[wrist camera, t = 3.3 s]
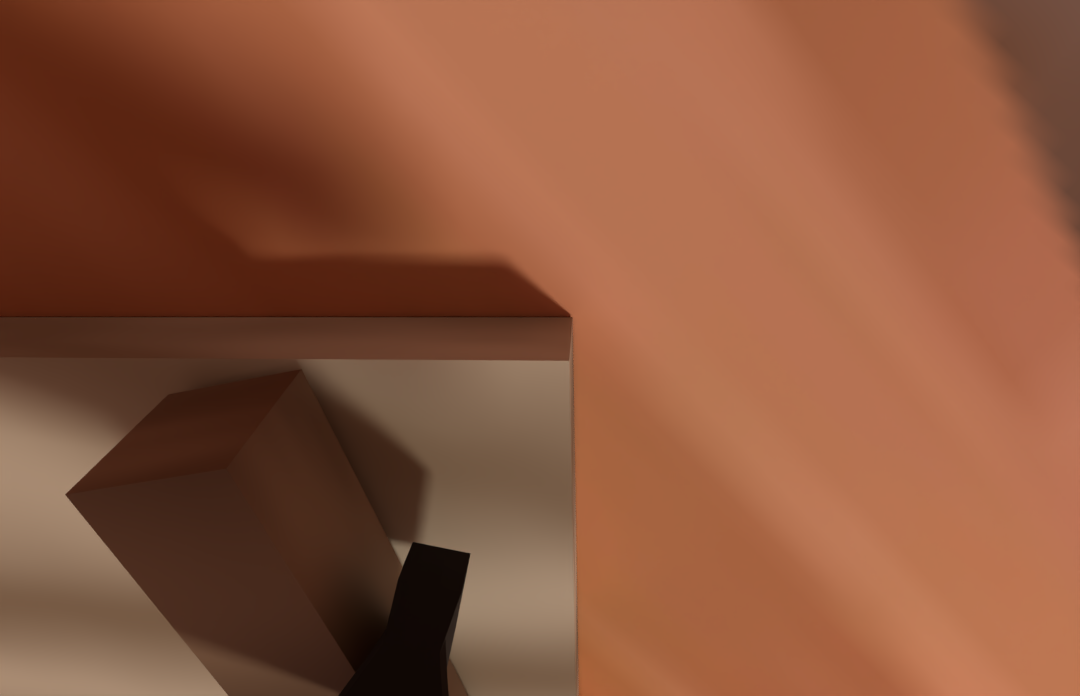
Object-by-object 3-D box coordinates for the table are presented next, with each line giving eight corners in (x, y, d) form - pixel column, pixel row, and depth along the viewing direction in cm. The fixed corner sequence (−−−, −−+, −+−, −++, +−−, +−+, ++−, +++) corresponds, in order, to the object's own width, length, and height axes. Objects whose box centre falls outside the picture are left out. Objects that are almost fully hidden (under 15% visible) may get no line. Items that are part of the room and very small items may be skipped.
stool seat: (579, 766, 19) (576, 916, 16) (-38, 727, 21) (-147, 857, 18) (572, 316, 11) (564, 440, 8) (-399, 316, 13) (-695, 418, 10)
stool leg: (518, 794, 16) (506, 911, 14) (428, 798, 17) (403, 913, 15) (301, 368, 10) (226, 468, 8) (168, 394, 11) (64, 494, 9)
